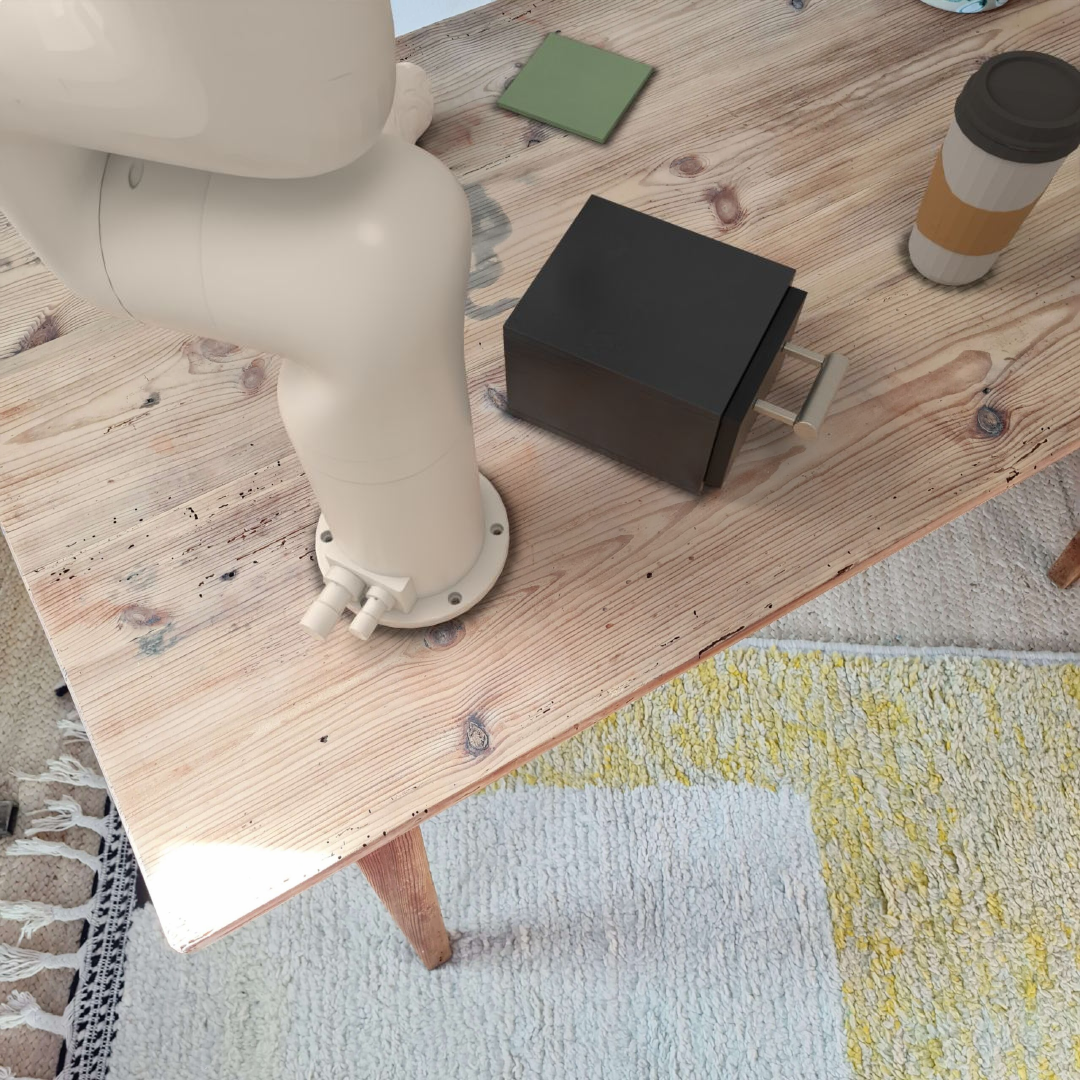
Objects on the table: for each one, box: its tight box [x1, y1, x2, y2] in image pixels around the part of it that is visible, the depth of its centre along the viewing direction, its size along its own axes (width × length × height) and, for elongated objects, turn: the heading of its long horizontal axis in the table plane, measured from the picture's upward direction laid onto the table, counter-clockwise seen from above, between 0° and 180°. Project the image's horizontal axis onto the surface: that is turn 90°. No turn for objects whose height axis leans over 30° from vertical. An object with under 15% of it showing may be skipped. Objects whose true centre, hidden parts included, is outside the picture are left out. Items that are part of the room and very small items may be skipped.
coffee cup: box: [907, 49, 1080, 287], centre depth 68 cm, size 8×8×15 cm
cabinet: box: [502, 194, 797, 496], centre depth 66 cm, size 15×13×10 cm
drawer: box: [704, 286, 851, 490], centre depth 65 cm, size 18×11×8 cm, turn 63°
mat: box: [497, 32, 654, 145], centre depth 84 cm, size 10×10×1 cm
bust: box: [382, 61, 435, 145], centre depth 77 cm, size 12×8×11 cm
